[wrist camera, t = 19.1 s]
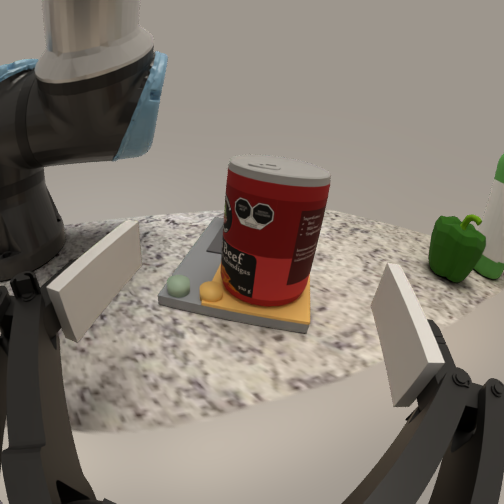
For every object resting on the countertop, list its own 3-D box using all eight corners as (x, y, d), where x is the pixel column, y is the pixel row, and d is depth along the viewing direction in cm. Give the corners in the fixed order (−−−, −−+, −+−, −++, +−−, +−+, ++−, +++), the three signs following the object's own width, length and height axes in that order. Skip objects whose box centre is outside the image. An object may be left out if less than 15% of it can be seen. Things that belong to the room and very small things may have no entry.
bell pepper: (414, 254, 39) (434, 194, 34) (453, 263, 38) (474, 207, 33) (432, 285, 31) (460, 215, 26) (474, 292, 31) (502, 229, 26)
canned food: (216, 261, 29) (224, 151, 24) (291, 260, 31) (310, 159, 25) (224, 311, 22) (235, 172, 17) (316, 306, 24) (349, 182, 19)
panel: (158, 304, 24) (156, 285, 23) (214, 223, 40) (215, 210, 39) (306, 333, 23) (312, 315, 22) (306, 238, 39) (309, 225, 38)
